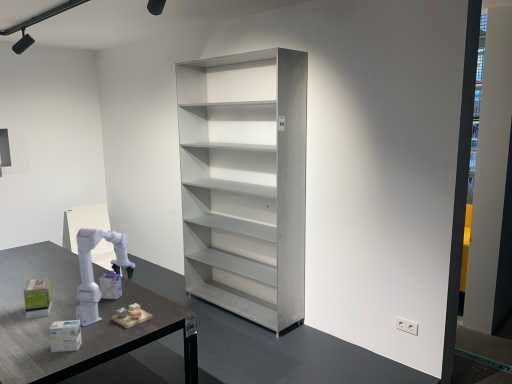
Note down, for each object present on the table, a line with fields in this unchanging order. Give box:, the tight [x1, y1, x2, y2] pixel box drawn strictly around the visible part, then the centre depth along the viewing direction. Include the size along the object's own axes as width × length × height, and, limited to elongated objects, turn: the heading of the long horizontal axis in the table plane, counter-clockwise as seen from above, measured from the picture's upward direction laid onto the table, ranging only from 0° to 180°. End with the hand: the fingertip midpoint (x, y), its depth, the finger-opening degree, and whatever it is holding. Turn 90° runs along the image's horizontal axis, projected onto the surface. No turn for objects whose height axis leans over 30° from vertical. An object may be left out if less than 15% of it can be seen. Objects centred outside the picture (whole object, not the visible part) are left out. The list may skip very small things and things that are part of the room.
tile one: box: [129, 309, 142, 319], centre depth 200 cm, size 4×4×3 cm
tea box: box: [23, 277, 52, 320], centre depth 209 cm, size 15×10×15 cm, turn 21°
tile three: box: [115, 307, 129, 318], centre depth 201 cm, size 4×4×3 cm
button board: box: [111, 309, 153, 329], centre depth 202 cm, size 14×13×2 cm
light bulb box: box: [48, 319, 82, 353], centre depth 175 cm, size 11×7×11 cm, turn 99°
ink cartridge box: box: [99, 270, 123, 300], centre depth 226 cm, size 10×6×14 cm, turn 82°
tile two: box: [128, 302, 142, 311], centre depth 206 cm, size 4×4×3 cm
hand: (124, 277), depth 228 cm, fingers open, 7 cm apart
